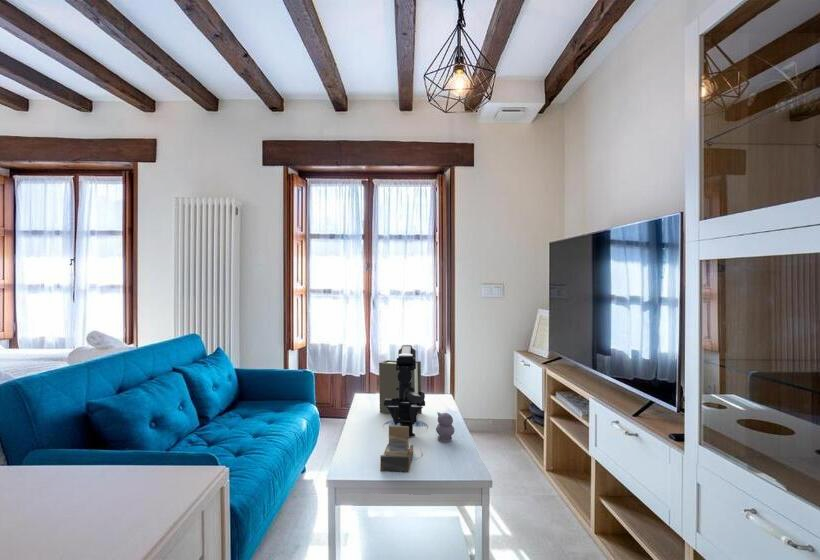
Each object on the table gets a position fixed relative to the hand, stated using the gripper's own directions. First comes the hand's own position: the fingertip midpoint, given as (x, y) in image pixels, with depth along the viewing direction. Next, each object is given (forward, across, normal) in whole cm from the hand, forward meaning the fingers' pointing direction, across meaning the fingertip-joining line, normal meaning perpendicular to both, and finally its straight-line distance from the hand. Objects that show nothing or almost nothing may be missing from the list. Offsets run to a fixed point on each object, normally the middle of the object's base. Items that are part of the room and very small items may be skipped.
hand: (404, 424), depth 168 cm
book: (-3, +36, +43) cm, 57 cm away
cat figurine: (+7, +27, +2) cm, 28 cm away
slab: (+11, -3, 0) cm, 11 cm away
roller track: (+14, -4, 0) cm, 14 cm away
